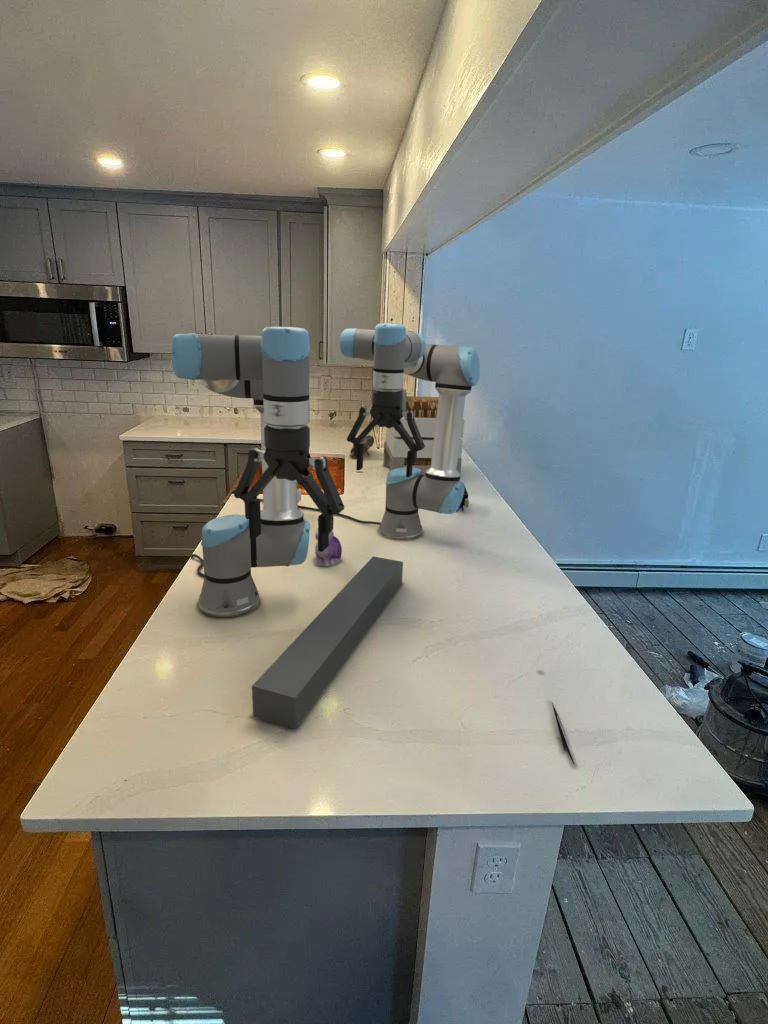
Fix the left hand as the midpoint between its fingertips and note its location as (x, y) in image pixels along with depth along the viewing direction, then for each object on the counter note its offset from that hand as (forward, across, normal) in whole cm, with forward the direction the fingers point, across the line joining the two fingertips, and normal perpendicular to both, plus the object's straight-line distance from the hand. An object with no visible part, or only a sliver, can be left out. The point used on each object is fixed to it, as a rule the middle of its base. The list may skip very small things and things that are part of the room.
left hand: (288, 542), depth 101 cm
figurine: (+35, -21, +64) cm, 75 cm away
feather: (+35, +50, +17) cm, 63 cm away
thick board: (+35, 0, +26) cm, 43 cm away
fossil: (+35, -61, +194) cm, 206 cm away
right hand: (0, 0, +51) cm, 51 cm away
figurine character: (+35, +5, +133) cm, 137 cm away
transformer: (+35, -23, +174) cm, 179 cm away
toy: (+35, -53, +92) cm, 112 cm away
